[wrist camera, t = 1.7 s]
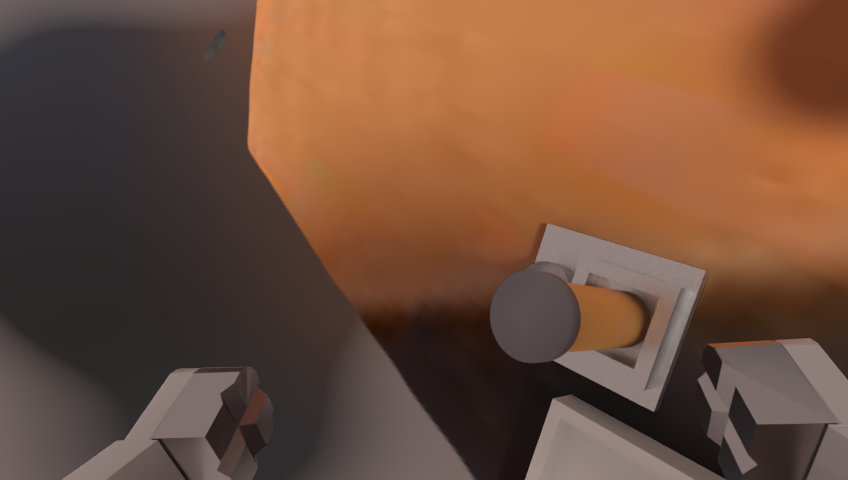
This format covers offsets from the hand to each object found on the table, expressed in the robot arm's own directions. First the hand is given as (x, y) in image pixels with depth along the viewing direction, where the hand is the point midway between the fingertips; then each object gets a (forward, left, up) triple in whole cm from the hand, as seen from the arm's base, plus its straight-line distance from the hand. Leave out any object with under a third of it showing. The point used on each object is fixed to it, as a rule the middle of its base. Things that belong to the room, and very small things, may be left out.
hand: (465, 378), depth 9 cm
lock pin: (+8, +2, -29) cm, 30 cm away
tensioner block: (+10, +2, -30) cm, 31 cm away
